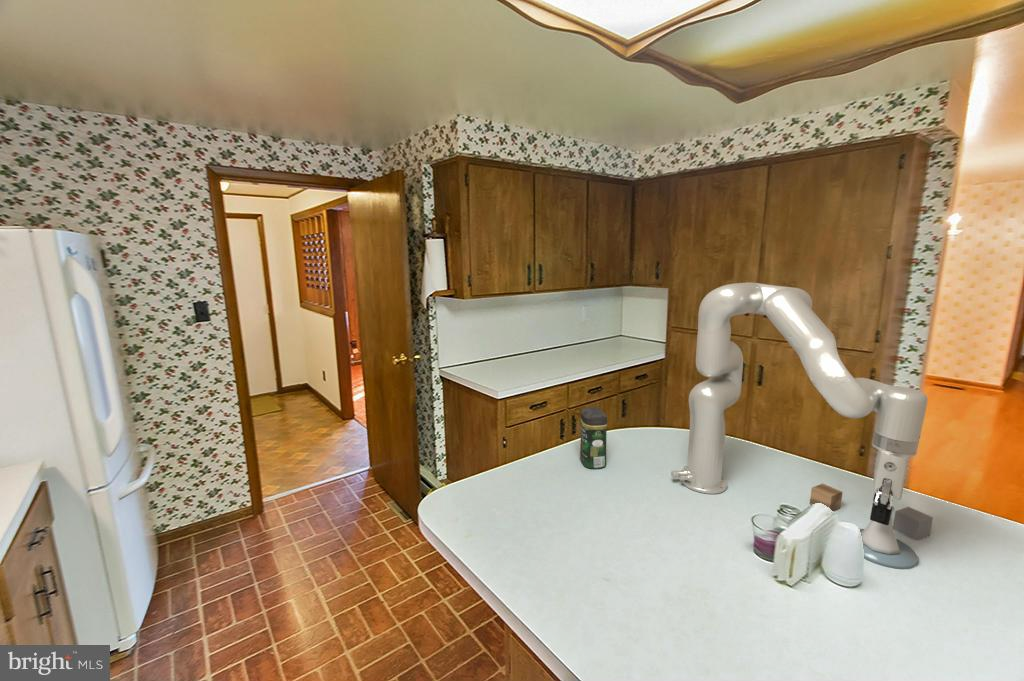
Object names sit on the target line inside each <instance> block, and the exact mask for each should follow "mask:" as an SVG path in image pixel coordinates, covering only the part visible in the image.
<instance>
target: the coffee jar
mask: <svg viewBox="0 0 1024 681" xmlns="http://www.w3.org/2000/svg"><path fill="white" fill-rule="evenodd" d="M607 428H608V416H607V414H606V412H604V411H603V410H602V409H600V408H598V407H597V406H589V407H587V406H586V407H585V408H583V409H581V411H580V447H579V449H580V451H579V452H580V453H579V454H580V455H579V459H580V462H581V463H582V465H583V466H584V467H585V468H587V469H593V470H597V469H598V470H600V469H601V468H605V467H606V466H607V431H608V430H607Z"/></svg>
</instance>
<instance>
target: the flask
mask: <svg viewBox="0 0 1024 681" xmlns="http://www.w3.org/2000/svg"><path fill="white" fill-rule="evenodd" d="M891 508H892V511H891V516H890V521H889V525H884V524H881V523H878V522H875V521H872V520H870V521H869V523H868V525H866V527H865V528H863V529H864V530H863V532H862V533H861V536H862V542H863V544H864V545H866V546H867V547H868V548H870V549H871V550H873V551H877V552H881V553H885V554H900V550H899V547H898V544H897V540H896V539H897V537H896V534H895V530H894V529H893V512H895V511H896V510H895V507H894V506H893V505H892V504H891Z"/></svg>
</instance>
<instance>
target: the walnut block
mask: <svg viewBox="0 0 1024 681" xmlns="http://www.w3.org/2000/svg"><path fill="white" fill-rule="evenodd" d="M809 498H810V499H809V505H810V506H812V504H815V503H822V504H824V505H826V506H827V507H829V508H830V509H831V510H832V511H834V512H835V511H838V510H841V507H842V500H843V499H842V498H843V491H842V490H839V489H837V488H834V487H832V486H830V485H827V484H826V483H820V484H817V485H814V486H812V487H811V490H810V497H809Z"/></svg>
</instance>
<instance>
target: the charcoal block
mask: <svg viewBox="0 0 1024 681" xmlns="http://www.w3.org/2000/svg"><path fill="white" fill-rule="evenodd" d="M933 518H934V517H933V516H931V515H928V514H925V513H923V512H921V511H919V510H917V509H915V508H912V507H910V506H907V507H903V508H899V509H897V510H894V517H893V521H892V526H893V529H894V531H895V532H897V533H899V534H902V535H904V536H906V537H908V538H910V539H912V540H914V541H916V542H917V541H920V540H923V539H926V538H928V537H930V535H931V529H932V524H933Z"/></svg>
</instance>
